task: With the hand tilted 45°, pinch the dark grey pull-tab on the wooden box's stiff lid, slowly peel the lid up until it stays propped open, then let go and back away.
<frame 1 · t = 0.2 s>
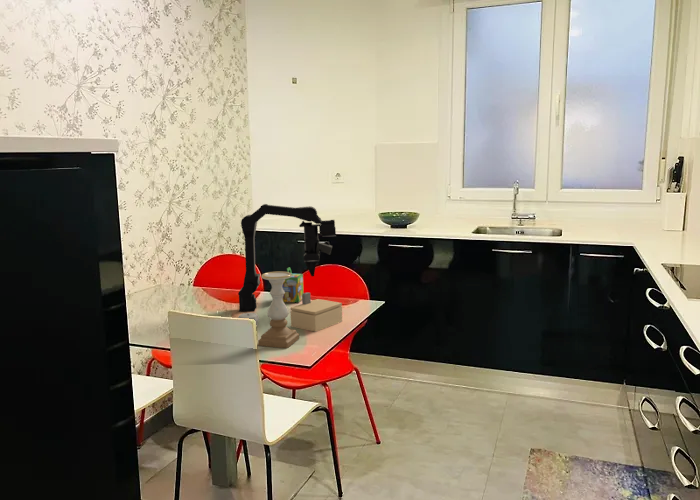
hand: (313, 274, 238), 15 cm above the table, tool pointing down, fingers open, 9 cm apart
wooden box: (317, 323, 217), on the table
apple: (249, 331, 210), on the table
candle holder: (279, 342, 196), on the table
chalk box: (291, 300, 254), on the table
lid: (316, 301, 216), point 9 cm above the table, hinge at 0.0°
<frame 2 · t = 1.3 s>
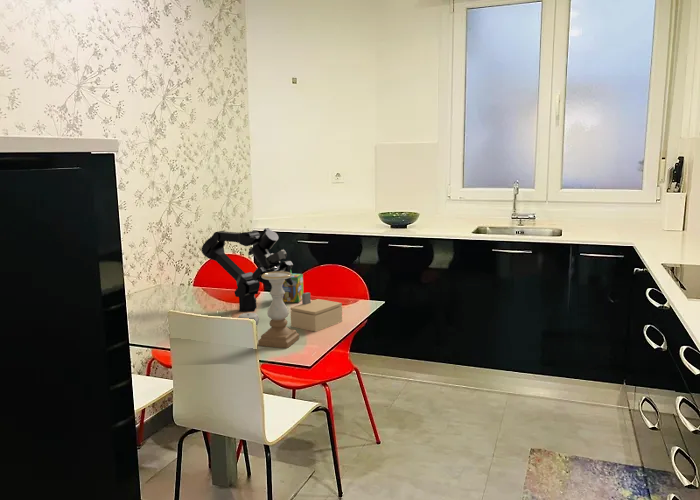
hand: (284, 286, 225), 12 cm above the table, tool tilted 45°, fingers open, 9 cm apart
nothing on the table moved.
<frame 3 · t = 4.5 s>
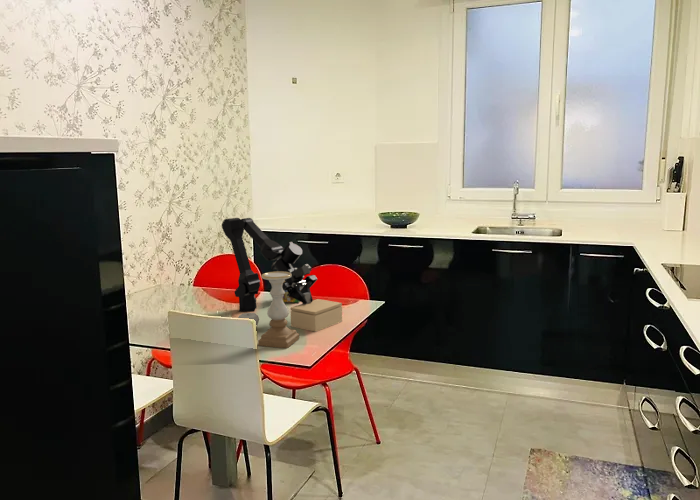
hand: (309, 302, 218), 8 cm above the table, tool tilted 45°, fingers closed on lid, 3 cm apart
lid: (316, 301, 216), point 9 cm above the table, hinge at 0.0°, touching gripper
everything else where it was.
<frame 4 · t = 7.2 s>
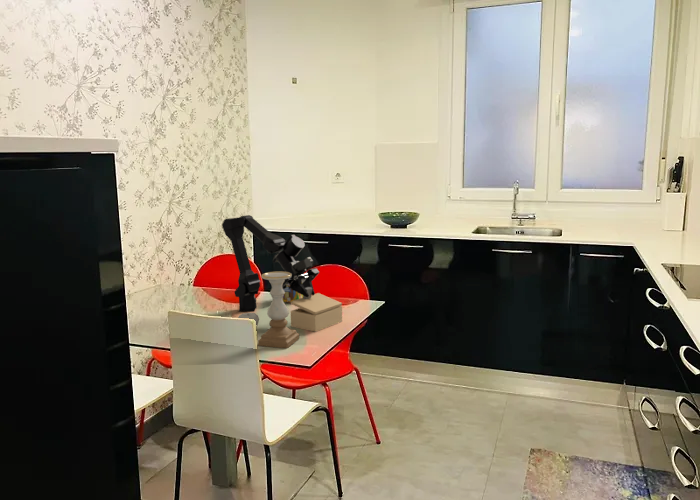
hand: (311, 295, 217), 11 cm above the table, tool tilted 45°, fingers closed on lid, 3 cm apart
lid: (317, 298, 215), point 10 cm above the table, hinge at 11.9°, touching gripper
everything else where it was.
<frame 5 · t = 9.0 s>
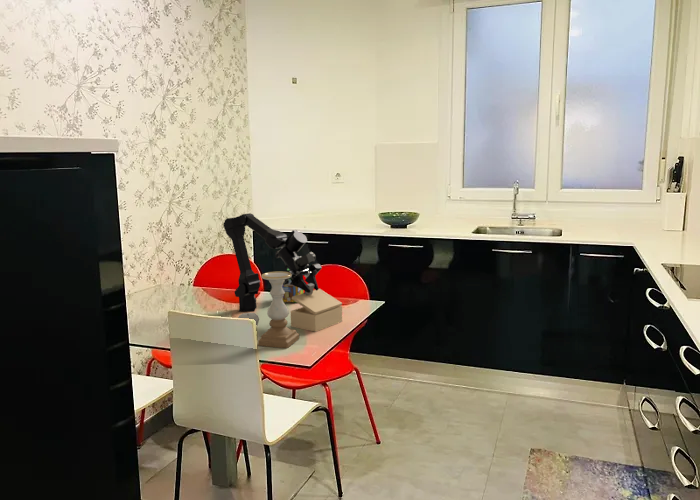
hand: (313, 290, 216), 13 cm above the table, tool tilted 45°, fingers open, 4 cm apart
lid: (318, 296, 215), point 11 cm above the table, hinge at 21.5°
everything else where it was.
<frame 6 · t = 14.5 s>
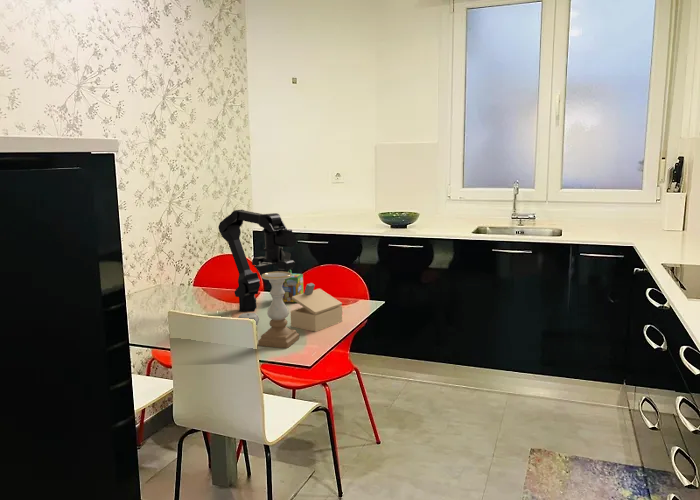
hand: (273, 283, 228), 13 cm above the table, tool pointing down, fingers open, 9 cm apart
nothing on the table moved.
at the end: lid at +22° (first picture: +0°); the gripper is holding nothing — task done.
